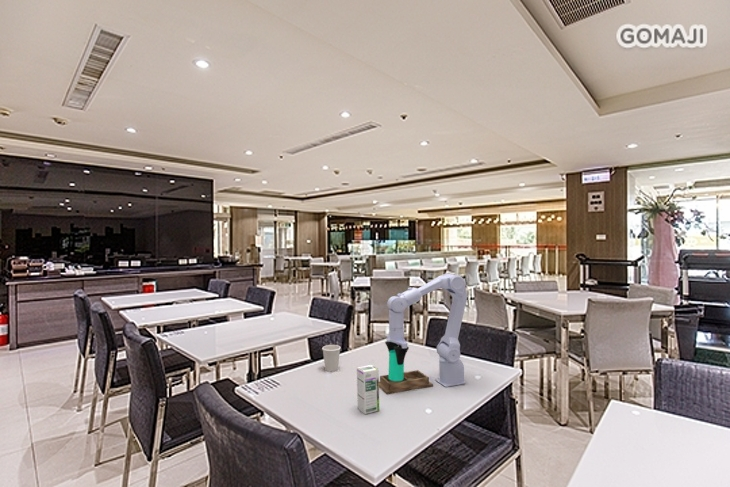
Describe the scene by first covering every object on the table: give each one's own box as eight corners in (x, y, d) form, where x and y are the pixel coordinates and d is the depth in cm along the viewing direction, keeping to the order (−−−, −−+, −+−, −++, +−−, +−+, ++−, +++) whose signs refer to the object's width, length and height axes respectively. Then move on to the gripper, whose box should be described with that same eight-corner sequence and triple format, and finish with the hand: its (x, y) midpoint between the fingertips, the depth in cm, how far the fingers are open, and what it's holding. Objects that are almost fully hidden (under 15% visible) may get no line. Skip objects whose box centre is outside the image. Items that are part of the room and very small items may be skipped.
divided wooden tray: (420, 377, 156) (419, 369, 156) (432, 386, 147) (432, 377, 147) (376, 384, 149) (376, 375, 149) (386, 394, 140) (386, 385, 139)
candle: (401, 382, 141) (402, 350, 141) (386, 379, 143) (387, 348, 143) (405, 377, 147) (405, 346, 147) (390, 375, 148) (391, 345, 149)
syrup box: (364, 415, 123) (364, 371, 123) (356, 407, 129) (356, 366, 129) (379, 411, 126) (379, 368, 126) (371, 404, 131) (370, 363, 131)
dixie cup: (344, 368, 168) (344, 346, 168) (333, 374, 161) (333, 351, 161) (330, 365, 173) (329, 343, 173) (318, 370, 166) (318, 348, 166)
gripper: (379, 324, 150) (380, 357, 151) (395, 332, 137) (395, 369, 137) (395, 322, 153) (395, 355, 153) (412, 330, 139) (412, 366, 140)
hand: (396, 361), depth 145 cm, fingers closed on candle, 6 cm apart
